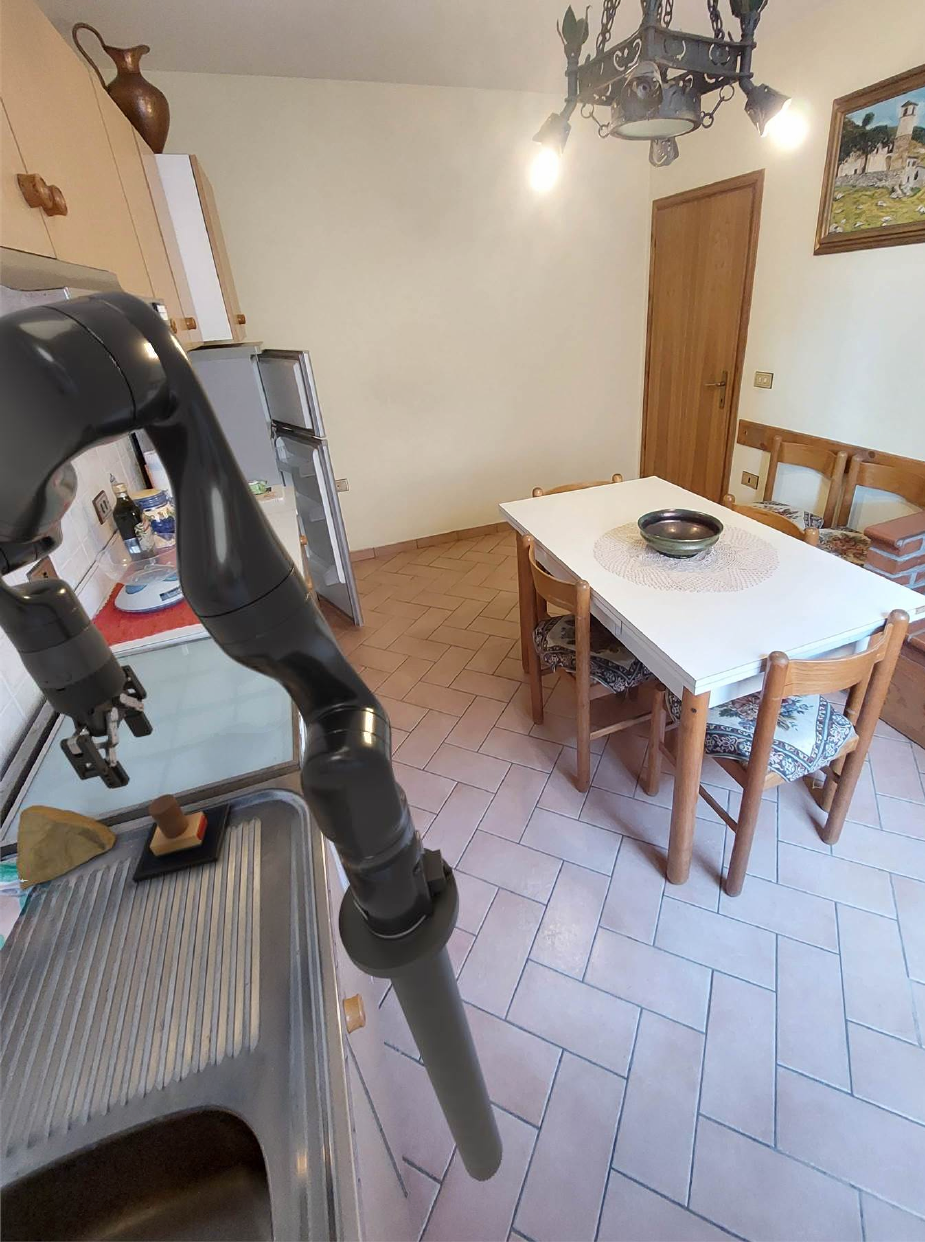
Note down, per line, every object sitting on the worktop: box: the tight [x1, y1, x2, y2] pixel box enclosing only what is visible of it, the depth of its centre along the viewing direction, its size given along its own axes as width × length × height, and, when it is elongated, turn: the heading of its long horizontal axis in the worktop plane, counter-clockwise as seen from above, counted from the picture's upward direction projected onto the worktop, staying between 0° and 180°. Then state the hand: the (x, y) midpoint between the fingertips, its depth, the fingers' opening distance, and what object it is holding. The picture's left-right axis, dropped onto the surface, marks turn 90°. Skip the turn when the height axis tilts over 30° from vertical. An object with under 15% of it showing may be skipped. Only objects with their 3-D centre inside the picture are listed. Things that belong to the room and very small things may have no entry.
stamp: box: [148, 793, 208, 857], centre depth 78 cm, size 6×4×8 cm, turn 103°
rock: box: [15, 804, 116, 890], centre depth 78 cm, size 11×9×10 cm
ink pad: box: [131, 803, 232, 884], centre depth 81 cm, size 11×9×1 cm
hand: (133, 758), depth 72 cm, fingers open, 8 cm apart
